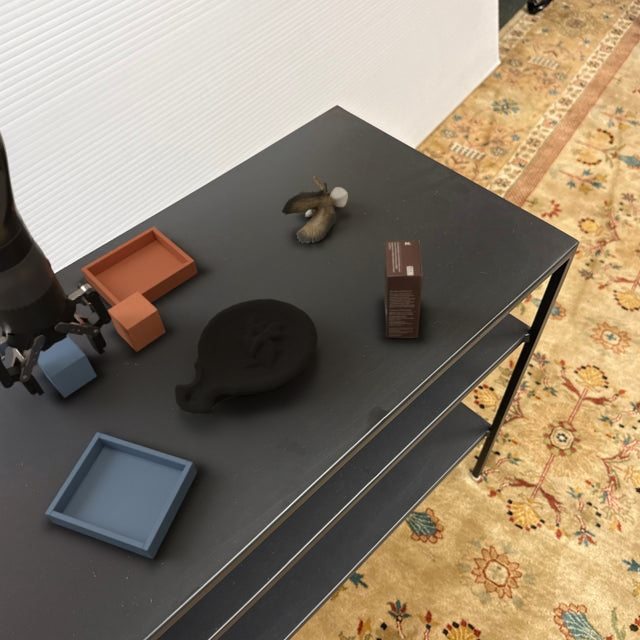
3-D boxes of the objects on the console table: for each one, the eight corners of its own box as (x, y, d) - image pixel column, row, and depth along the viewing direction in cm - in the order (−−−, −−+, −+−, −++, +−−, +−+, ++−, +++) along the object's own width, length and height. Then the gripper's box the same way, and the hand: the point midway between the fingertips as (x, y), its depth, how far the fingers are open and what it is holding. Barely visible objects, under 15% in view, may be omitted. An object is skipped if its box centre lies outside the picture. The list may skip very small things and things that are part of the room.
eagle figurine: (301, 191, 101) (270, 217, 95) (325, 162, 96) (294, 188, 89) (335, 225, 101) (307, 253, 95) (361, 199, 96) (333, 227, 90)
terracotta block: (136, 352, 83) (127, 330, 80) (117, 332, 86) (107, 310, 82) (165, 332, 85) (157, 309, 82) (146, 313, 88) (137, 290, 84)
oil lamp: (147, 388, 80) (137, 364, 76) (263, 299, 88) (259, 274, 84) (225, 462, 73) (218, 440, 69) (343, 358, 81) (342, 334, 78)
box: (382, 304, 87) (385, 239, 78) (415, 304, 87) (422, 238, 77) (383, 339, 83) (386, 275, 74) (418, 340, 83) (426, 275, 73)
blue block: (64, 398, 79) (51, 377, 76) (46, 376, 82) (32, 354, 78) (97, 376, 81) (85, 354, 78) (78, 355, 83) (66, 333, 80)
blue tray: (53, 523, 69) (44, 513, 67) (103, 442, 75) (96, 431, 73) (153, 559, 66) (147, 550, 64) (197, 472, 72) (193, 462, 70)
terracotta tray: (124, 319, 87) (119, 307, 85) (86, 280, 92) (80, 268, 90) (197, 273, 92) (194, 260, 90) (157, 238, 97) (153, 226, 95)
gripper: (58, 230, 73) (102, 322, 85) (-64, 298, 67) (3, 386, 79) (93, 263, 69) (134, 354, 81) (-34, 338, 63) (32, 424, 75)
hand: (69, 369), depth 80 cm, fingers open, 8 cm apart
